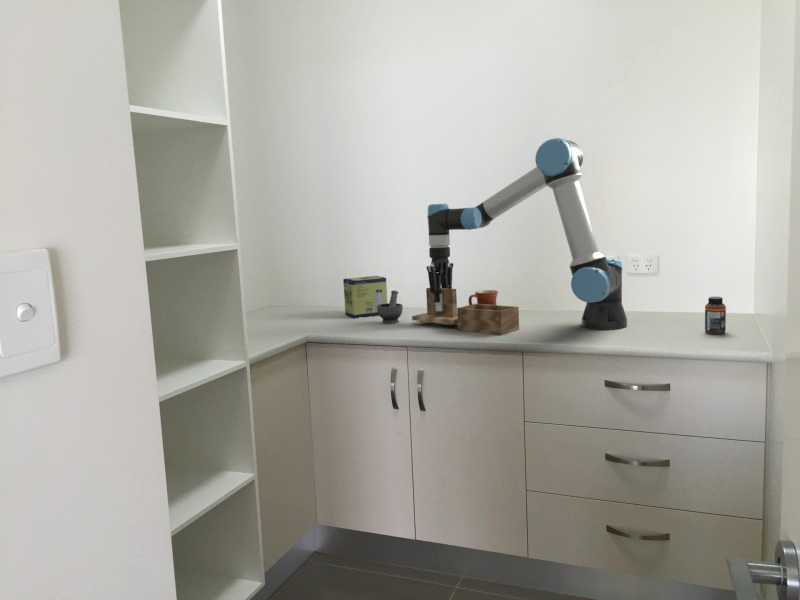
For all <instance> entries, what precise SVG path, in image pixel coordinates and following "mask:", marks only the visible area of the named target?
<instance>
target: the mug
mask: <svg viewBox="0 0 800 600" xmlns="http://www.w3.org/2000/svg"><path fill="white" fill-rule="evenodd" d="M498 293H499V291H498V290H495V289H492V290H491V289H485V290H477V291H475V292H474V294H470V295H469V297H468V305H472V304H473V302H472V300H473V298H476V304H487V305H498V304H497V298H498Z"/></svg>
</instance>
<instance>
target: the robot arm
mask: <svg viewBox="0 0 800 600" xmlns="http://www.w3.org/2000/svg"><path fill="white" fill-rule="evenodd" d="M583 162H584V153H583V150H582V148H581V147H580V145H578V144H577V143H576V142H575V141H571V140H566V139H564V138H560V137H558V138H551V139H548V140H545V141H544V142H543V143H541V145H540V146H539V147H538V149H537V151H536V153H535V165H536V167H534V168H532V169H531V170H529V171H528V172H526V173H525V174H524V175H522V176H521V177H519V178H518V179H516V180H515V181H512V182H511V183H510V184H508V185H507V186H505V187H504V188H502V189H501V190H499V191H498V192H496V193H495V194H493V195H491V196H489V197H488V198H487V199H485V200H484V201H483V202H481V203H479V204H478V205H476V206H475V207H461V208H459V207H458V208H450V207H449V204H448V203H434V204H433V203H432V204H429V205H427V225H428V246H429V249H428V250H429V251H428V252H429V254H428V255H429V258H431V262H430V265H428V266H426V271H427V273H428V274H427V276H428V282H429V288H430V292H432V293H434V294H435V304H436V311H443V303H442V294H441V288H447V289H453V268H454V263H453V262H450V260H449V258H450V257H451V248H450V247H449V246H450V245H451V243H450V231H453V230H456V231H457V230H462V231H463V230H464V231H465V230H468V231H471V230H477V229H482V228H484V227H487V226H489V225H490V224H491V222H493V220H495V219H496V218H497V217H500V216H501V215H503V214H504V213H506V212H508V211H510V210H511V209H512V208H514V207H515V206H517V205H519V204H521V203H522V202H524V201H525V200H527V199H528V198H530V197H531V196H533V195H535V194H536V193H538V192H539V191H542V190H543V189H544V188H546V187H548V188H550V189H551V190H552V193H553V196H554V199H555V200H554V201H555V203H556V206H557V209H558V214H559V216H560V219H561V222H562V223H561V224H562V226H563V227H562V228H563V230H564V235H565V238H566V241H567V243H568V244H567V246H568V248H569V251H570V254H571V258H572V261H571V262H570V264H569V269H570V271H571V272H570V273H571V276H572V277H571V282H570V286H571V291H572V292H573V295H574V296H575V297H577V299H579V300H580V301H582V302H585V303H586V304H585V308H584V311H583V313H582V316H581V326H582V327H583V328H586V329H587V328H588V329H592V330H593V329H594V330H615V329H616V330H617V329H624V328H626V327H628V317H627V315H626V312H625V309H624V306H623V301H622V300H623V264H622V260H620V259H618V258H613V259H612V258H607V257H606V255H604V254H603V253H601V252H600V250H599V248H598V245H597V241H596V237H595V234H594V230H593V227H592V224H591V222H592V221H591V220H590V219H591V218H590V216H589V212H588V209H587V207H586V202H585V199H584V194H583V191H582V189H581V187H582V186H581V185H580V179H581V177H582V175H583V174H582V169H581V167H582V164H583Z"/></svg>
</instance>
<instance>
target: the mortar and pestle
mask: <svg viewBox="0 0 800 600" xmlns="http://www.w3.org/2000/svg"><path fill="white" fill-rule="evenodd" d="M398 294H399V291H398V290H391V292H390V298H389V299H390V300H389V303H388V302H387V304H380V305H377V311H378V314H379V317H380V318H381V319H382V322H381V323H382V325H396V324H398V323H399V318H400V317H401V315H402V313H403V309H404V308H403V304H402V303H398V302H397V301H398Z"/></svg>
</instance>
